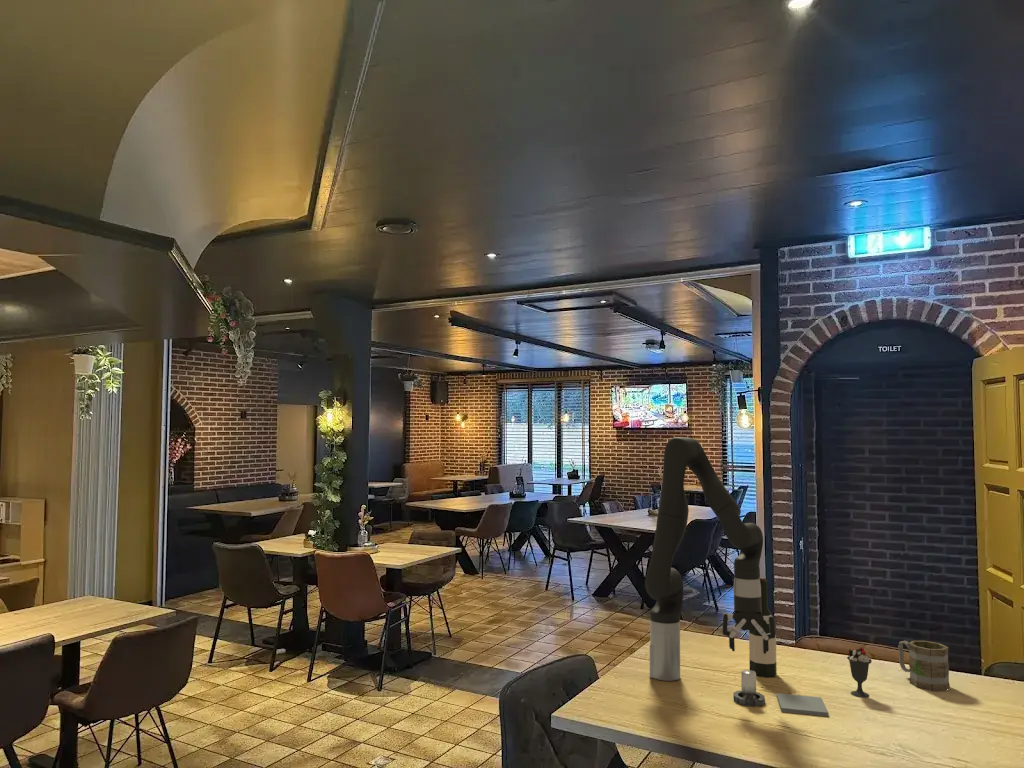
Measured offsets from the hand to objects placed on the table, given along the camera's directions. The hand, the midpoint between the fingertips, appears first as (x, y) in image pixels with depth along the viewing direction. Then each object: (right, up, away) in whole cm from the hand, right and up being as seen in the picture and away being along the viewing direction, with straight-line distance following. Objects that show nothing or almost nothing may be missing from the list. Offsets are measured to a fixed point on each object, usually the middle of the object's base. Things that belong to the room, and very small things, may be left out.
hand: (748, 651), depth 205 cm
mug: (+59, -16, +17) cm, 63 cm away
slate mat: (+13, -14, -5) cm, 20 cm away
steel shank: (0, -14, -1) cm, 14 cm away
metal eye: (0, -14, -1) cm, 14 cm away
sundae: (+34, -15, +5) cm, 38 cm away
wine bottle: (+12, -16, +24) cm, 31 cm away
